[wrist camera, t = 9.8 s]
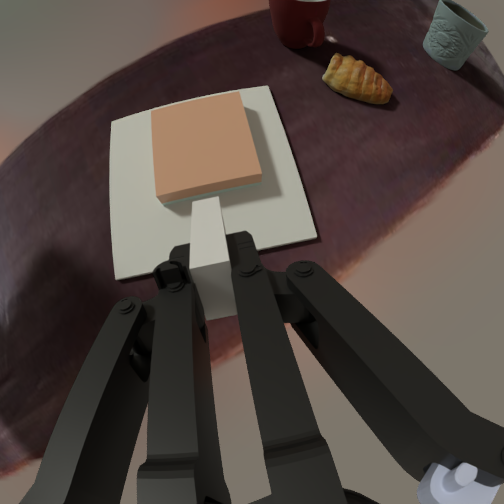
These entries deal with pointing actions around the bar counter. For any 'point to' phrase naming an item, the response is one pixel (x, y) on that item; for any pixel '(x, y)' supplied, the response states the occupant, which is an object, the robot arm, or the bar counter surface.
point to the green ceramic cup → (453, 34)
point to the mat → (232, 202)
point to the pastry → (356, 80)
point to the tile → (203, 149)
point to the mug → (299, 21)
